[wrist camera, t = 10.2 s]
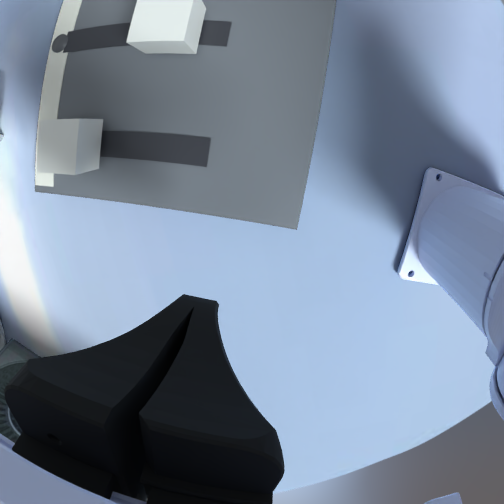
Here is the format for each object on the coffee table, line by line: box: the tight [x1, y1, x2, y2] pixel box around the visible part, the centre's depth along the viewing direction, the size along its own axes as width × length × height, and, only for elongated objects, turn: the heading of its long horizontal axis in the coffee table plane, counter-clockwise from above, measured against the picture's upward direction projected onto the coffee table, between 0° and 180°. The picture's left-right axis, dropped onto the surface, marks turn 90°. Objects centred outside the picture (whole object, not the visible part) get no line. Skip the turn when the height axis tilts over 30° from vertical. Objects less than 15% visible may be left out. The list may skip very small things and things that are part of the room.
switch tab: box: [37, 119, 103, 175], centre depth 14 cm, size 3×3×3 cm
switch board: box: [35, 0, 336, 230], centre depth 14 cm, size 18×22×2 cm
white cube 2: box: [126, 0, 206, 54], centre depth 12 cm, size 3×3×3 cm
